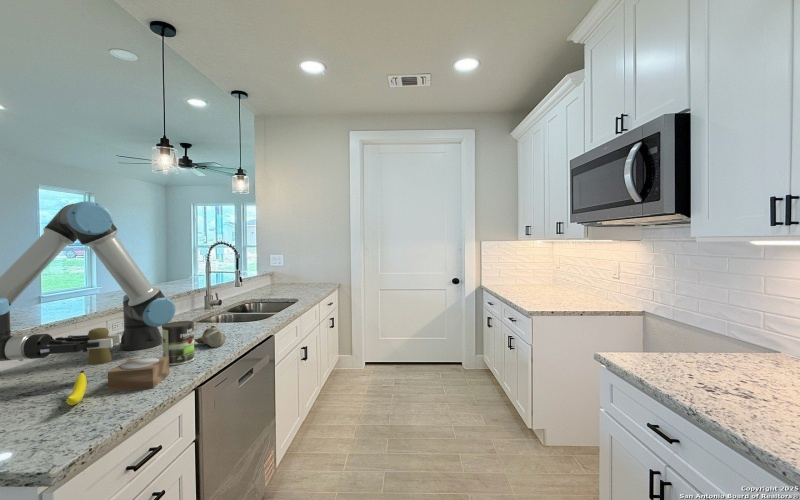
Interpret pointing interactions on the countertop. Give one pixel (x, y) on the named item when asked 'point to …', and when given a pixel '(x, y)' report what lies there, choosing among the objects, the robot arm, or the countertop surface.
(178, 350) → the coffee can
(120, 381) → the walnut plinth
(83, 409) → the countertop surface
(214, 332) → the ceramic sculpture
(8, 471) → the countertop surface
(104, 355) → the cork
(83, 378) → the banana
